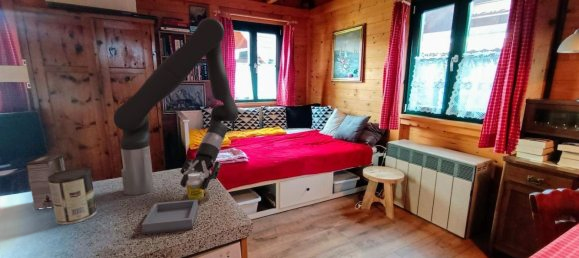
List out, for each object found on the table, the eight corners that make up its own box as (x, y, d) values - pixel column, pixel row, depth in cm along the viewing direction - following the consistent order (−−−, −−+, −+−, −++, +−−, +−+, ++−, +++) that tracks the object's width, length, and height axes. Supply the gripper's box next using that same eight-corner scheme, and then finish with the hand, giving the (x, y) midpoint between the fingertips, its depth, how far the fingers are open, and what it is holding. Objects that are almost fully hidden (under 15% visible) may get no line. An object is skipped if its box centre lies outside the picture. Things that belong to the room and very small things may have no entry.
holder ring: (180, 206, 89) (180, 202, 89) (185, 195, 97) (184, 191, 97) (207, 203, 91) (207, 199, 91) (209, 193, 99) (209, 189, 99)
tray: (142, 234, 73) (141, 224, 73) (155, 211, 86) (155, 203, 85) (192, 229, 76) (191, 219, 75) (198, 207, 88) (197, 199, 88)
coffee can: (82, 206, 90) (76, 166, 87) (105, 211, 86) (99, 169, 84) (47, 221, 80) (38, 177, 78) (70, 227, 77) (62, 181, 74)
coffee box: (50, 198, 96) (42, 155, 93) (71, 196, 97) (64, 154, 94) (34, 210, 87) (24, 163, 84) (57, 207, 89) (49, 161, 86)
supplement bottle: (201, 195, 98) (199, 170, 96) (205, 200, 93) (204, 174, 92) (186, 198, 95) (184, 173, 93) (190, 204, 91) (187, 177, 89)
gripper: (189, 140, 100) (169, 180, 91) (222, 143, 95) (204, 185, 87) (199, 150, 106) (181, 189, 97) (230, 153, 101) (215, 194, 93)
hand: (192, 187), depth 92 cm, fingers open, 7 cm apart
